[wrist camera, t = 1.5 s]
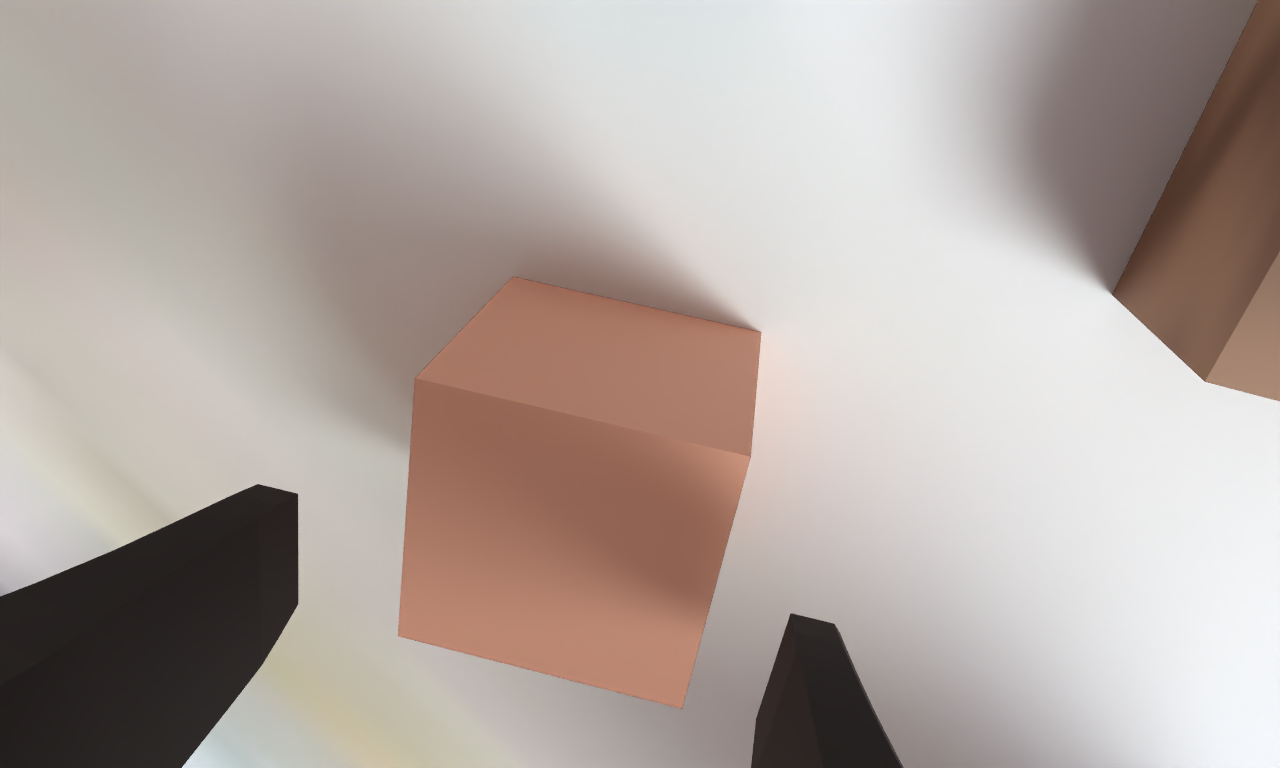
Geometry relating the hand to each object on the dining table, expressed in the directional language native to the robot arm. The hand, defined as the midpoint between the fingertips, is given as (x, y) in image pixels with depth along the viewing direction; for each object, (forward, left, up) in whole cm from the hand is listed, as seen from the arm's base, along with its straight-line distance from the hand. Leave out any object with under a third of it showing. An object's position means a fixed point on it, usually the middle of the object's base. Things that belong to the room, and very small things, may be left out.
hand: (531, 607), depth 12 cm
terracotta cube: (0, 0, -6) cm, 6 cm away
